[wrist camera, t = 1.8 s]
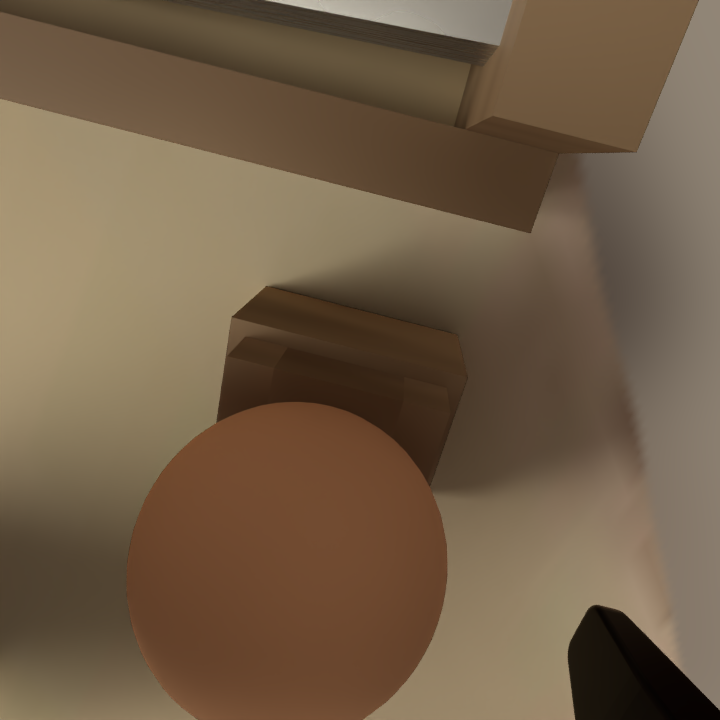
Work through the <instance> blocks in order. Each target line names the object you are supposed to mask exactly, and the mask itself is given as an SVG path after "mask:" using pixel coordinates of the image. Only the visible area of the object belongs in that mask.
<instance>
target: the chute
mask: <svg viewBox="0 0 720 720" xmlns="http://www.w3.org/2000/svg"><path fill="white" fill-rule="evenodd" d="M163 1H168V2H173V3H177V4H182V5H187V6H192V7H197V8H202V9H207V10H211V11H216V12H221V13H226V14H231V15H236V16H241V17H245V18H250V19H255V20H260V21H265V22H270V23H275V24H279V25H284V26H289V27H294V28H299V29H304V30H309V31H314V32H318V33H323V34H328V35H333V36H338V37H343V38H348V39H352V40H357V41H362V42H367V43H372V44H377V45H382V46H386V47H391V48H396V49H401V50H406V51H411V52H416V53H420V54H425V55H430V56H435V57H440V58H445V59H450V60H455V61H459V62H464V63H469V64H474V65H479V66H484V65H485V64H486V62H487V61H488V60H489V59H490V57H491V56H492V55H493V53H494V52H495V51H496V50H497V48H498V47H499V46H500V42H501V39H502V36H503V32H504V29H505V25H506V22H507V19H508V15H509V12H510V8H511V5H512V1H513V0H163Z"/></svg>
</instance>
